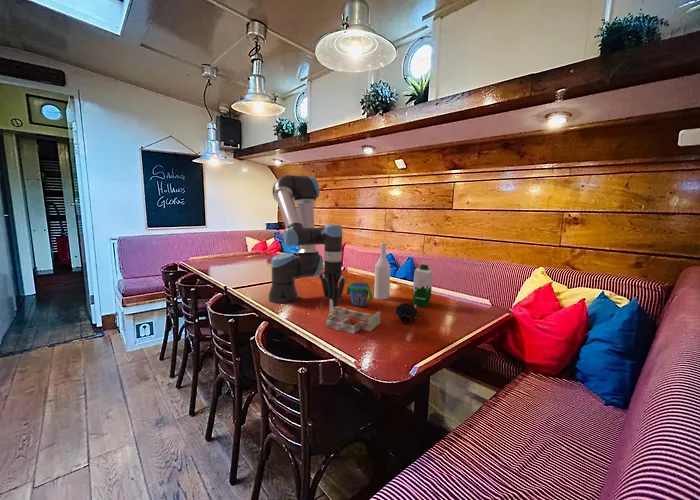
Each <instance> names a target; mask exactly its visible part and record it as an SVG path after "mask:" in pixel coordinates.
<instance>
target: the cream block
mask: <svg viewBox="0 0 700 500" xmlns="http://www.w3.org/2000/svg"><path fill="white" fill-rule="evenodd" d="M346 309H347V308H345V307H340V306H336V307H335V308H334V309H332V315H336V321H337V322H340V321H342V320H344V319H345V318H347V317H346Z"/></svg>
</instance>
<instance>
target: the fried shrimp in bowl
mask: <svg viewBox="0 0 700 500" xmlns="http://www.w3.org/2000/svg"><path fill="white" fill-rule="evenodd" d="M419 311H420V309H419V307H417V306H416V304H414V305H413V304H412V303H409V302H408V303H401V304H399V305H397V307H396V309H395V314H396V315H397V318H398V319H399V321H401V323H402V324H409V323H411V322H412V321H413V320H414V319H416V318H417V317H418V313H419ZM404 321H407V322H404Z"/></svg>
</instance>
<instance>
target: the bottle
mask: <svg viewBox="0 0 700 500" xmlns="http://www.w3.org/2000/svg"><path fill="white" fill-rule="evenodd" d="M386 253H387V242H384V241H383V242H381V243H380V257H379V259H378V260H377V262H376V263H375V265H374V290H373V293H374V294H373V296H374V299H376V300H383V301H384V300H389V298H390V285H391V282H390V281H391V265H390V263H389V261H388V259H387V257H386V256H387V255H386Z"/></svg>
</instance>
